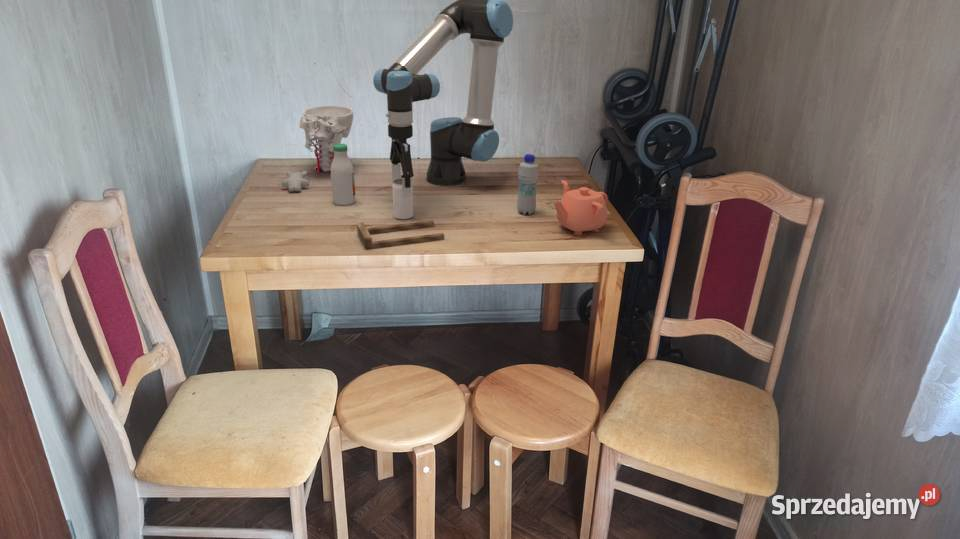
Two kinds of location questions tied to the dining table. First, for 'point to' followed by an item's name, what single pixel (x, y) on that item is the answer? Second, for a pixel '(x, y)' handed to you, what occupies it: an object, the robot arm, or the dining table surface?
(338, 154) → the milk bottle
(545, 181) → the dining table surface
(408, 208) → the can
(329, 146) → the skull
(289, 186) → the grey lumpy figure
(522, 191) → the bottle
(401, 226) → the guide
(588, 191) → the orange rounded piece
